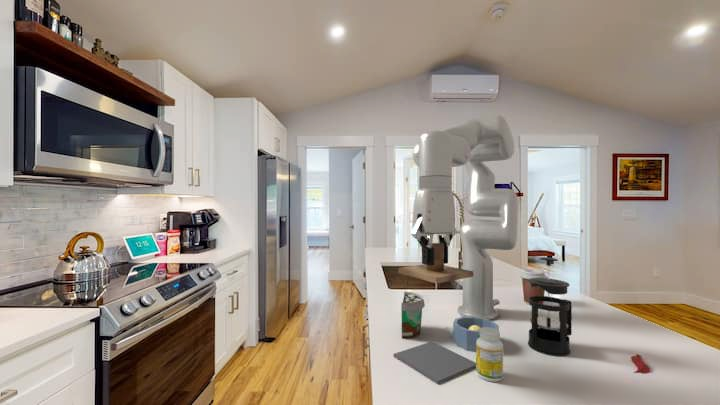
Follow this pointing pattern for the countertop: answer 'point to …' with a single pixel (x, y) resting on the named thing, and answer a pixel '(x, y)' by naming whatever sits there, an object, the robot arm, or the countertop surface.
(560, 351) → the french press
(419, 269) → the lid
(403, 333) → the food container
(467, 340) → the bowl
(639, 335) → the countertop surface
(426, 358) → the mat
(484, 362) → the supplement bottle
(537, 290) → the coffee cup
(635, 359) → the cayenne pepper
